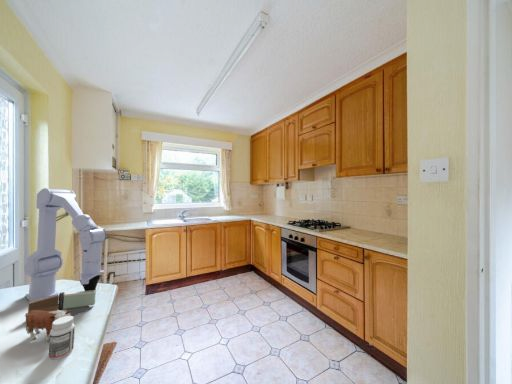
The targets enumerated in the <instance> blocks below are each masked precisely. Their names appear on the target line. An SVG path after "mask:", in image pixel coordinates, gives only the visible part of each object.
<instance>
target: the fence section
mask: <svg viewBox="0 0 512 384" xmlns="http://www.w3.org/2000/svg"><path fill="white" fill-rule="evenodd" d="M58 293H59V294H58V295H55V296H51V297H47V298H44V299H40V300H36V301H33V302H30V301H29V302H28V306H27V307H28V308H27V313H28V314H29V312H30V311H32V310H36V311H37V310H39V311H57V310H62V309H63V303H64V294H65V293H66V292H65V291H63V292H58Z"/></svg>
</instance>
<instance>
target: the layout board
mask: <svg viewBox="0 0 512 384" xmlns="http://www.w3.org/2000/svg"><path fill="white" fill-rule="evenodd" d="M68 310H71V311H70V312H69V313H68V314H65V316H73V317H74V316H77V315H79V314H82V313H84V312H88V311H91V310H92V307H91V306H82V307H74V308H66V309H62V310H61V311H64V312H66V311H68ZM27 315H28V312H27V313H25V316H27Z"/></svg>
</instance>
